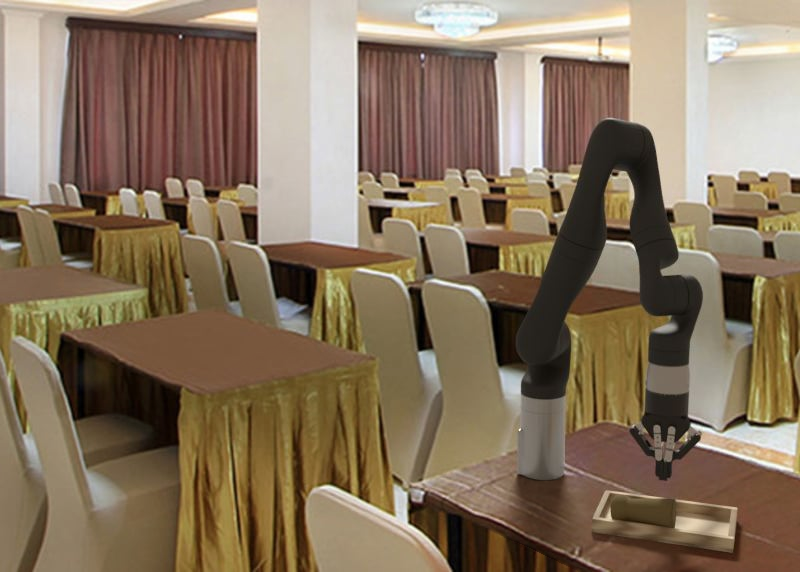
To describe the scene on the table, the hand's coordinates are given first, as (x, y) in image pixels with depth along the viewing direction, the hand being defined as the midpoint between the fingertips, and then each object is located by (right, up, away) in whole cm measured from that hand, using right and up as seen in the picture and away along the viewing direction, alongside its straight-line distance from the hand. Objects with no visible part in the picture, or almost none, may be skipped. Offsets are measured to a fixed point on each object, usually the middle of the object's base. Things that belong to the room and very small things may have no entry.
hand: (663, 478), depth 172 cm
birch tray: (+1, -9, +1) cm, 9 cm away
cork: (+1, -6, -3) cm, 7 cm away
